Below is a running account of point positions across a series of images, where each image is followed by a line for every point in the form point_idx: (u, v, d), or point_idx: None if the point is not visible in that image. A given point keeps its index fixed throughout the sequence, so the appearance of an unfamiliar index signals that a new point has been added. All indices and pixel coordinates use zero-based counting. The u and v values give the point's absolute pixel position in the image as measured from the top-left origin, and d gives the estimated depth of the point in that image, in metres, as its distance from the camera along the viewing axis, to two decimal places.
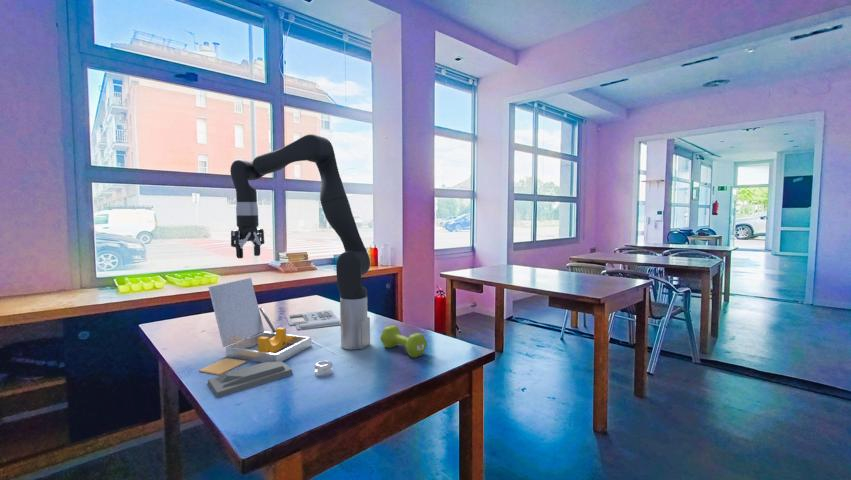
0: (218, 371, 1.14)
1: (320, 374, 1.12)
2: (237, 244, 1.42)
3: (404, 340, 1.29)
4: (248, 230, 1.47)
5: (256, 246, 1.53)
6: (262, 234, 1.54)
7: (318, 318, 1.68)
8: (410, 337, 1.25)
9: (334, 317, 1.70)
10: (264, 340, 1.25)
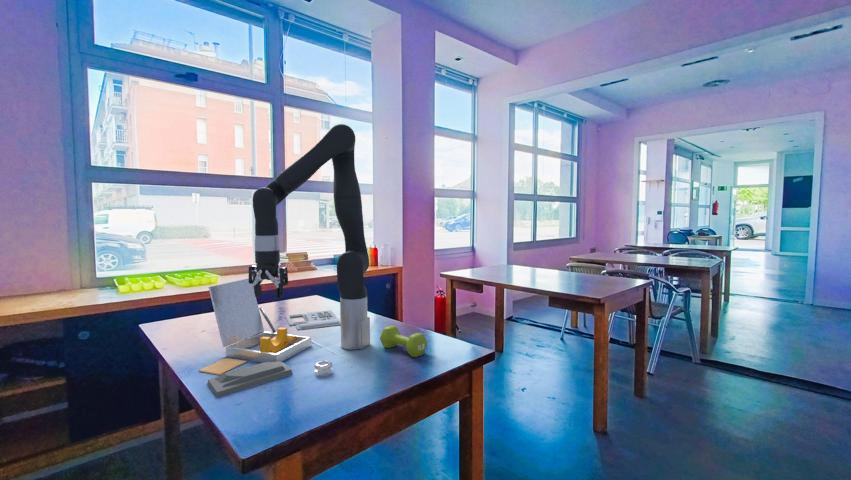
0: (218, 371, 1.14)
1: (320, 374, 1.12)
2: None
3: (404, 340, 1.29)
4: None
5: (259, 285, 1.31)
6: None
7: (318, 318, 1.68)
8: (411, 337, 1.26)
9: (334, 317, 1.70)
10: (266, 340, 1.25)
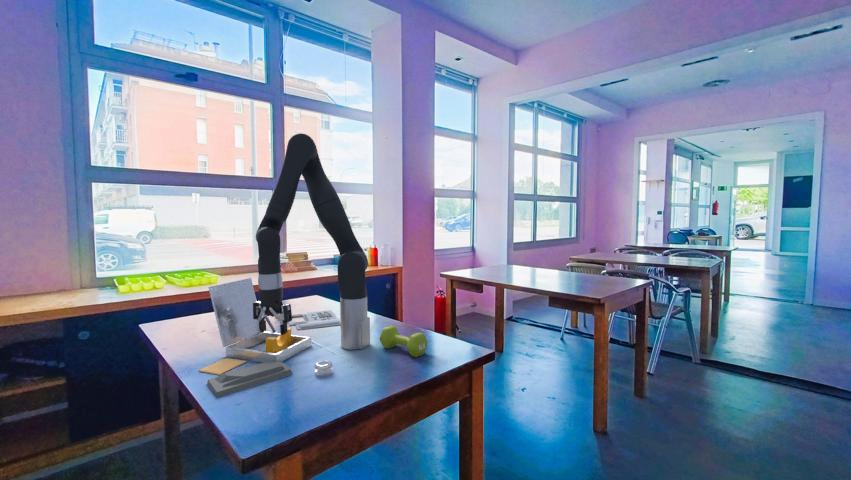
0: (218, 371, 1.14)
1: (320, 374, 1.12)
2: None
3: (404, 340, 1.29)
4: None
5: (263, 321, 1.34)
6: None
7: (318, 318, 1.68)
8: (412, 337, 1.26)
9: (334, 317, 1.70)
10: (272, 341, 1.26)
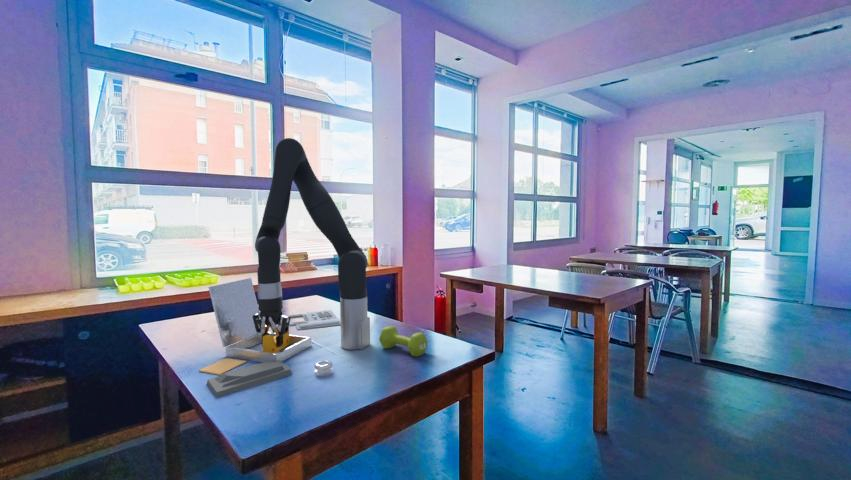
0: (218, 371, 1.14)
1: (320, 374, 1.12)
2: None
3: (405, 340, 1.29)
4: None
5: (266, 334, 1.32)
6: None
7: (318, 318, 1.68)
8: (412, 337, 1.26)
9: (334, 317, 1.70)
10: (269, 338, 1.26)
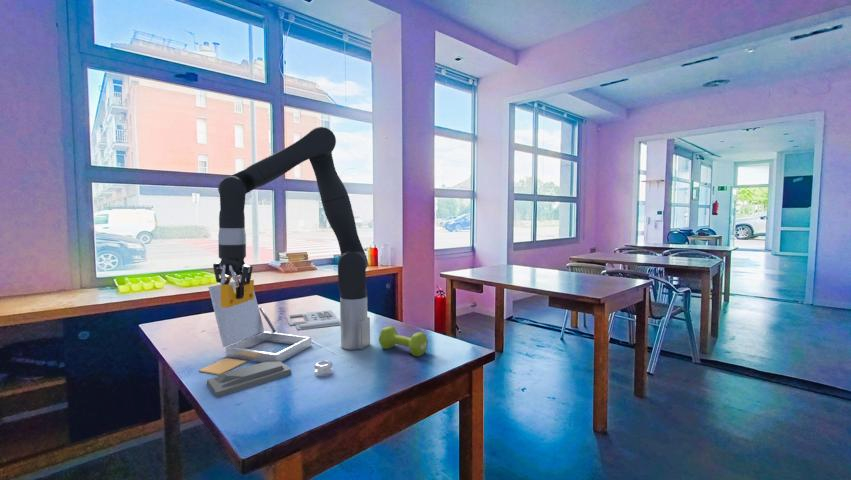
0: (218, 371, 1.14)
1: (320, 374, 1.12)
2: None
3: (405, 340, 1.29)
4: None
5: None
6: None
7: (318, 318, 1.68)
8: (414, 336, 1.26)
9: (334, 317, 1.70)
10: (227, 287, 1.16)
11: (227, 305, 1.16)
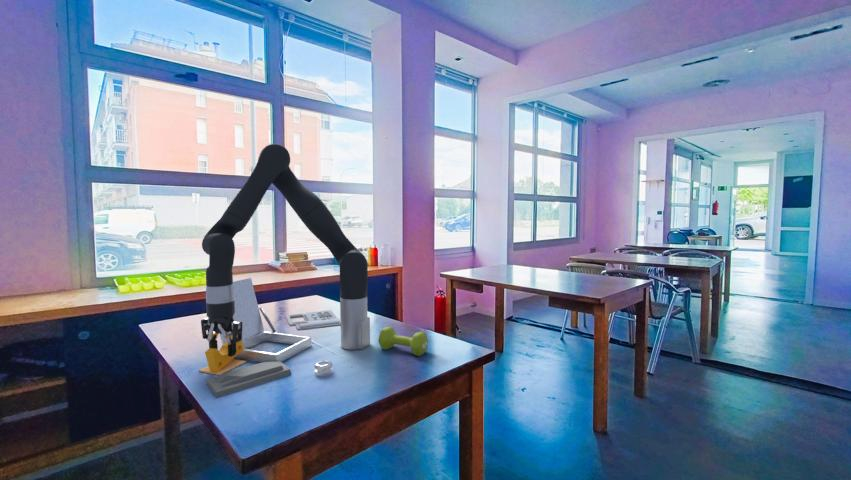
0: (218, 371, 1.14)
1: (320, 374, 1.12)
2: None
3: (405, 340, 1.29)
4: None
5: (214, 341, 1.19)
6: None
7: (318, 318, 1.68)
8: (415, 336, 1.26)
9: (334, 317, 1.70)
10: (212, 354, 1.12)
11: (216, 369, 1.13)
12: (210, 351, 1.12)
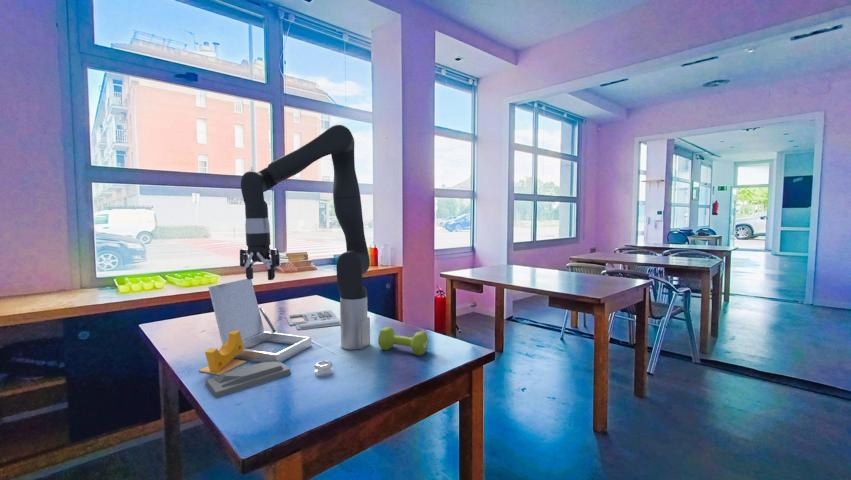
0: (218, 371, 1.14)
1: (320, 374, 1.12)
2: None
3: (406, 340, 1.29)
4: None
5: (250, 268, 1.34)
6: None
7: (318, 318, 1.68)
8: (416, 336, 1.27)
9: (334, 317, 1.70)
10: (212, 354, 1.12)
11: (216, 369, 1.13)
12: (210, 351, 1.12)
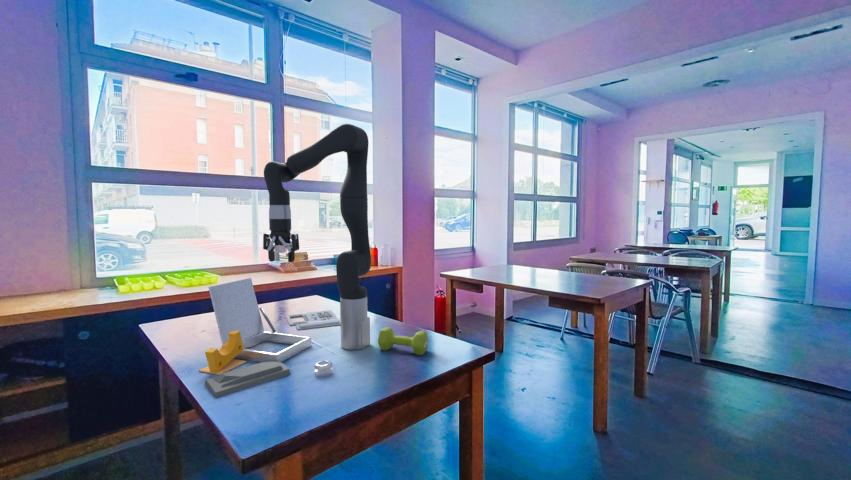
0: (218, 371, 1.14)
1: (320, 374, 1.12)
2: None
3: (406, 340, 1.29)
4: None
5: (272, 251, 1.46)
6: None
7: (318, 318, 1.68)
8: (417, 335, 1.27)
9: (334, 317, 1.70)
10: (212, 354, 1.12)
11: (216, 369, 1.13)
12: (210, 351, 1.12)
